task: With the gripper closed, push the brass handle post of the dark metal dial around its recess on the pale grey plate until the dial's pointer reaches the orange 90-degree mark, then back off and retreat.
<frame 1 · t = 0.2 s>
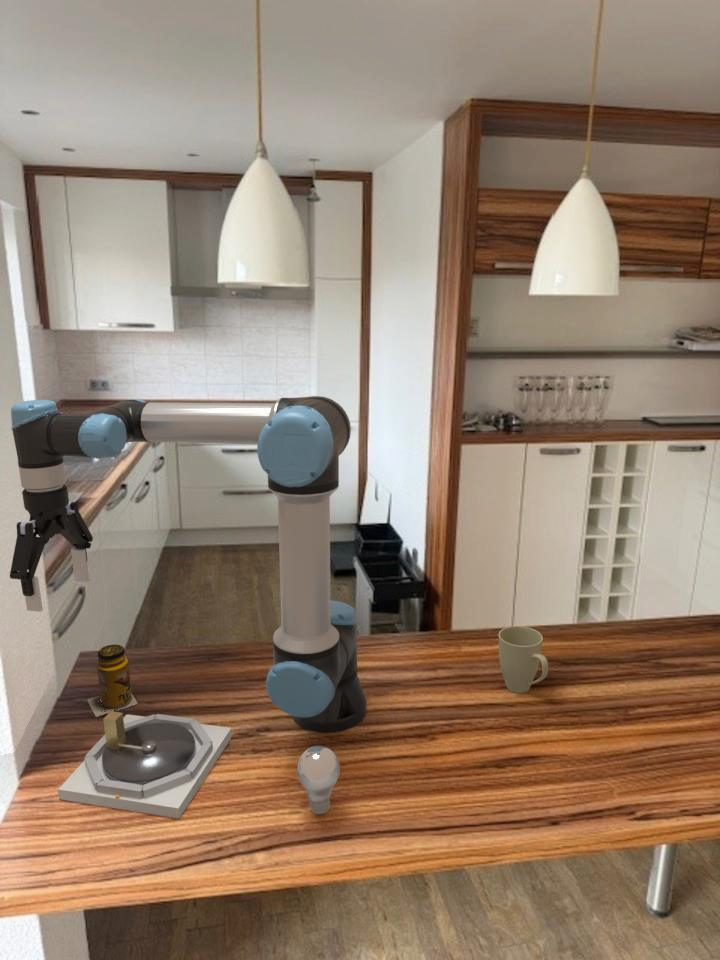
hand: (59, 594, 135), 27 cm above the table, fingers open, 13 cm apart
mug: (522, 689, 151), on the table
plate: (151, 766, 129), on the table
light bulb: (320, 813, 117), on the table
condiment: (112, 703, 149), on the table
dial: (148, 737, 127), point 6 cm above the table, hinge at 0.0°
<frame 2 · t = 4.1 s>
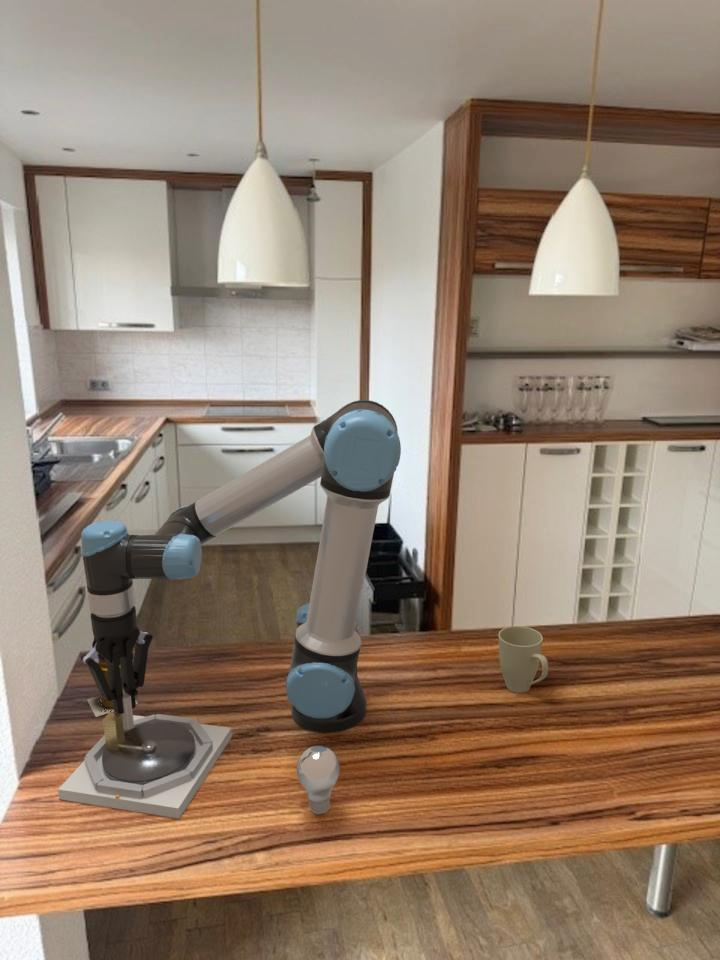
hand: (127, 725, 131), 6 cm above the table, fingers closed
dial: (148, 737, 127), point 6 cm above the table, hinge at 2.1°, touching gripper
everything else where it was.
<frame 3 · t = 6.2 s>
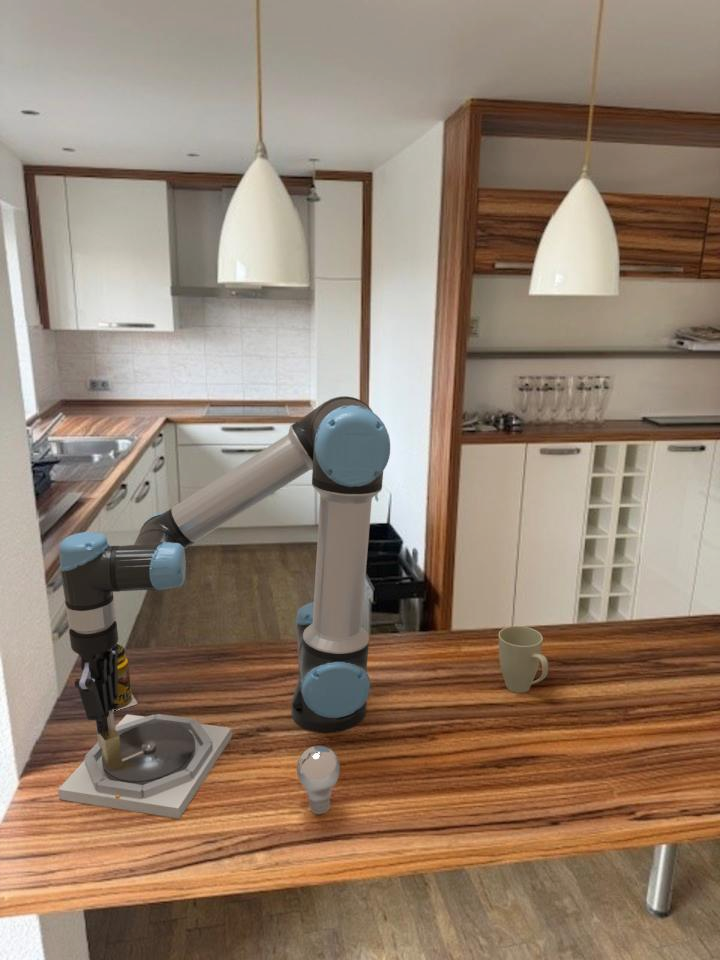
hand: (108, 744, 126), 6 cm above the table, fingers closed
dial: (148, 737, 127), point 6 cm above the table, hinge at 51.2°, touching gripper
everything else where it was.
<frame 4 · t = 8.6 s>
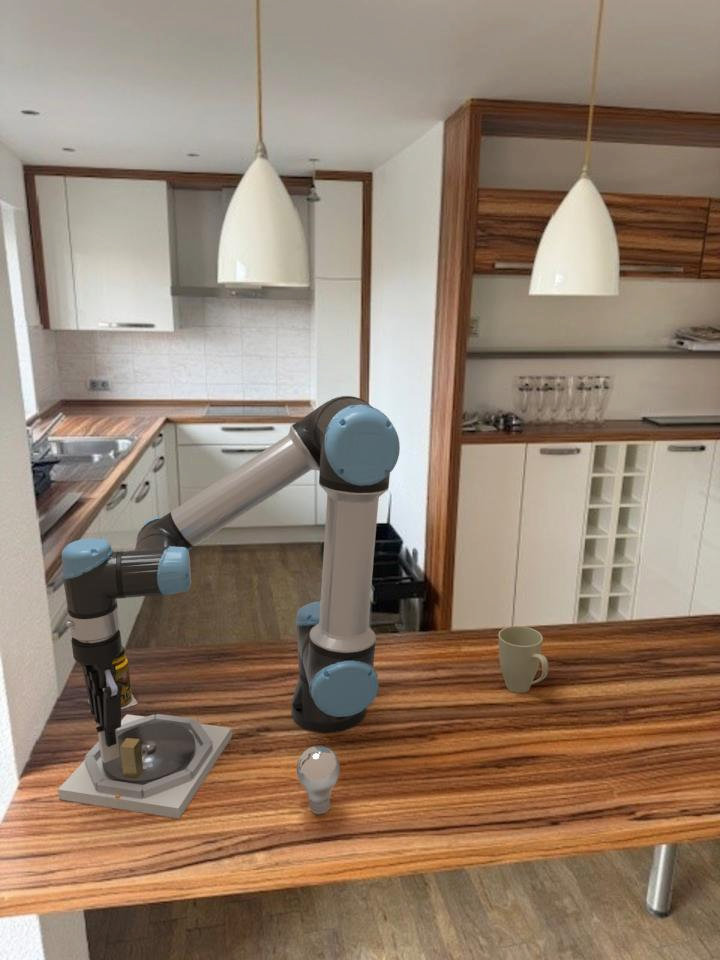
hand: (110, 757, 122), 6 cm above the table, fingers closed
dial: (148, 737, 127), point 6 cm above the table, hinge at 95.1°
everything else where it was.
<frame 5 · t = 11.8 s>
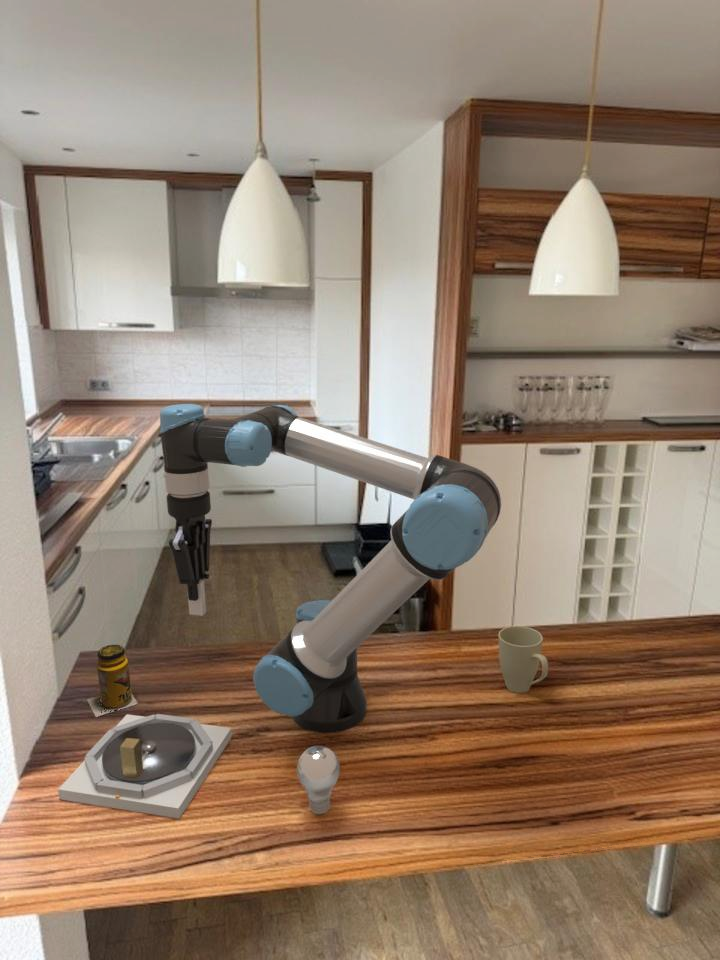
hand: (197, 613, 133), 24 cm above the table, fingers closed
nothing on the table moved.
at the end: dial at +95° (first picture: +0°) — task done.
